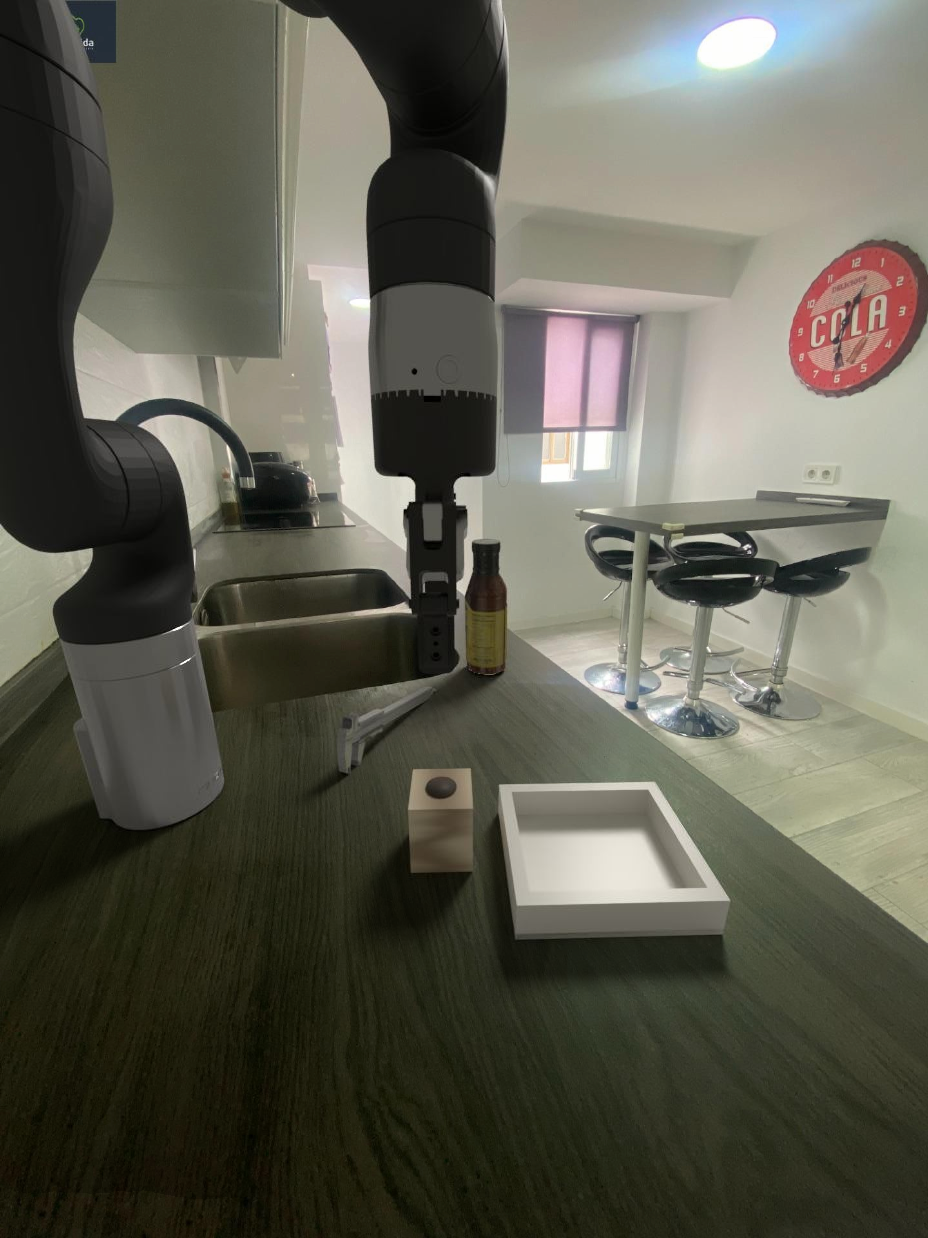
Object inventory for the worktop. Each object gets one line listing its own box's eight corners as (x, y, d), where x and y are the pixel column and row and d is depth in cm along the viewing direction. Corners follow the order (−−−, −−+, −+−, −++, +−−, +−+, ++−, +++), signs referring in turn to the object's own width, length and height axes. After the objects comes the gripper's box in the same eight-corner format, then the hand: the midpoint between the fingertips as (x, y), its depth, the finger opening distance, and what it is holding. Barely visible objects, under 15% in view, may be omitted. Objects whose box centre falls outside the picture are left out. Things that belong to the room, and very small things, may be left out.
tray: (515, 939, 31) (516, 905, 30) (498, 812, 43) (499, 784, 42) (722, 934, 32) (730, 900, 31) (650, 809, 43) (654, 782, 42)
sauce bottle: (480, 657, 76) (481, 535, 70) (513, 667, 73) (518, 539, 67) (456, 671, 71) (455, 540, 65) (491, 682, 68) (494, 545, 61)
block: (410, 873, 36) (407, 808, 34) (415, 827, 41) (412, 767, 39) (472, 871, 36) (473, 807, 35) (470, 826, 41) (470, 766, 39)
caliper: (348, 778, 48) (343, 724, 46) (339, 776, 48) (333, 722, 46) (437, 692, 65) (436, 651, 63) (430, 691, 66) (429, 649, 64)
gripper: (386, 406, 35) (396, 615, 40) (345, 370, 21) (368, 693, 26) (487, 406, 35) (484, 614, 40) (512, 371, 21) (502, 692, 26)
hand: (438, 645), depth 33 cm, fingers open, 8 cm apart
